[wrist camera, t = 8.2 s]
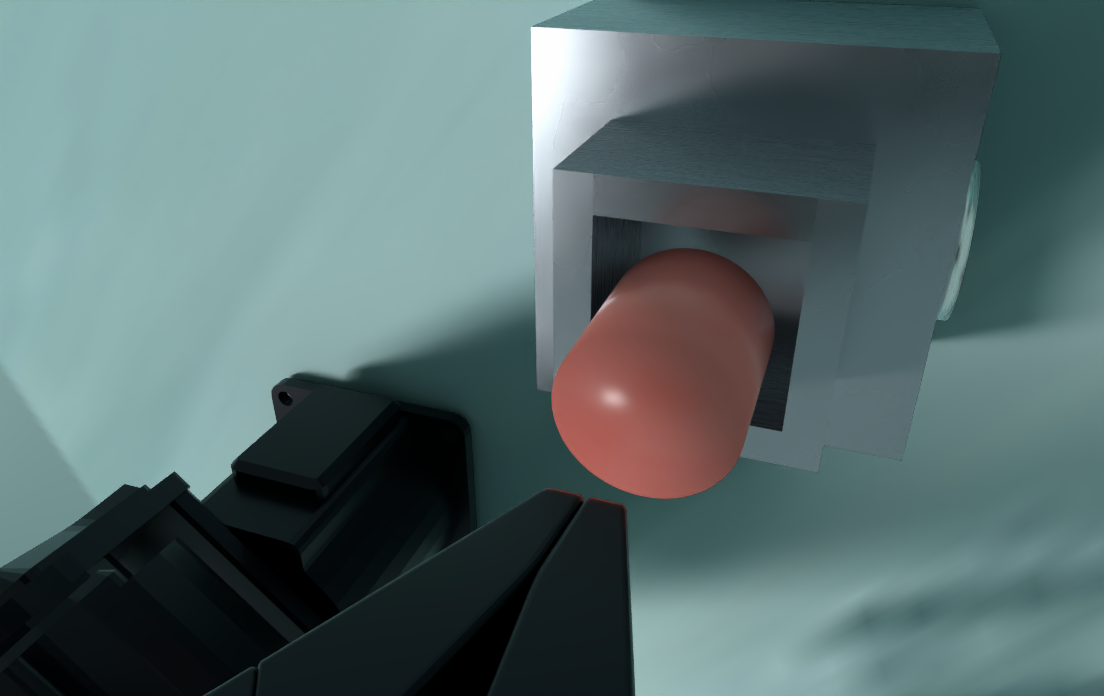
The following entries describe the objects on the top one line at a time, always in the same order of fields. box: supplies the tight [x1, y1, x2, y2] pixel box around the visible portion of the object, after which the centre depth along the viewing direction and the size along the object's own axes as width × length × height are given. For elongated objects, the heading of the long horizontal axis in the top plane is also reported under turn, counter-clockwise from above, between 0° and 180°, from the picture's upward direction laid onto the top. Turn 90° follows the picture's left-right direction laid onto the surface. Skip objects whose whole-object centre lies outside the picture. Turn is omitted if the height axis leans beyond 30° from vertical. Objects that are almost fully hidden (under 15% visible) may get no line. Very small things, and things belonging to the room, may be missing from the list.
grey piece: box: [531, 0, 1002, 473], centre depth 15 cm, size 7×7×7 cm
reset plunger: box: [551, 248, 775, 499], centre depth 11 cm, size 2×2×2 cm
